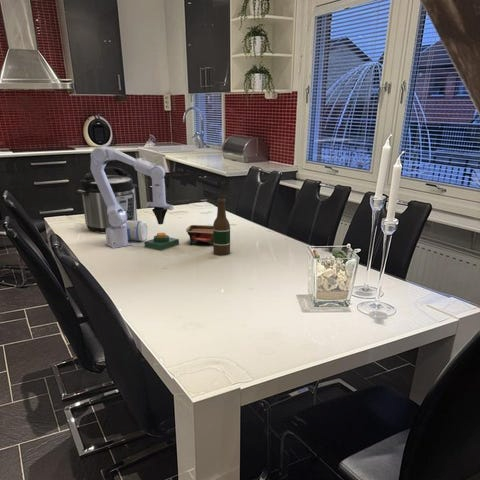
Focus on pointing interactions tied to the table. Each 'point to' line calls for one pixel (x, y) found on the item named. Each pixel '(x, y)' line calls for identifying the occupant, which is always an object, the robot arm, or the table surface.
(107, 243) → the robot arm
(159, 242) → the button box
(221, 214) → the beer bottle
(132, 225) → the supplement tub
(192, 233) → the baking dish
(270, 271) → the table surface
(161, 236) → the button
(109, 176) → the pressure cooker
